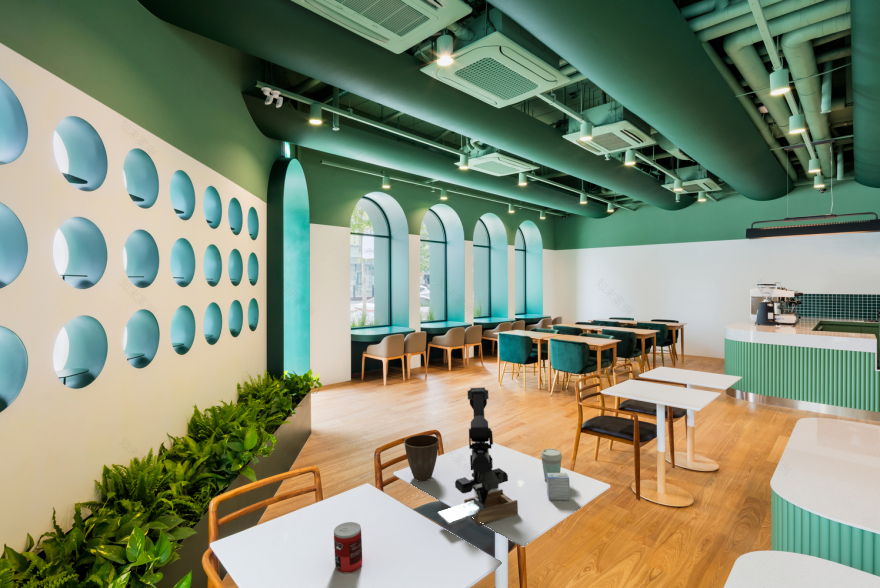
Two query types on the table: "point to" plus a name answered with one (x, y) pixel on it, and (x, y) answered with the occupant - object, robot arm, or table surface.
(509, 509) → the walnut box
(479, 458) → the robot arm
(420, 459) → the plant pot
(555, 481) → the medicine box
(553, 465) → the coffee cup
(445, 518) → the cover plate
